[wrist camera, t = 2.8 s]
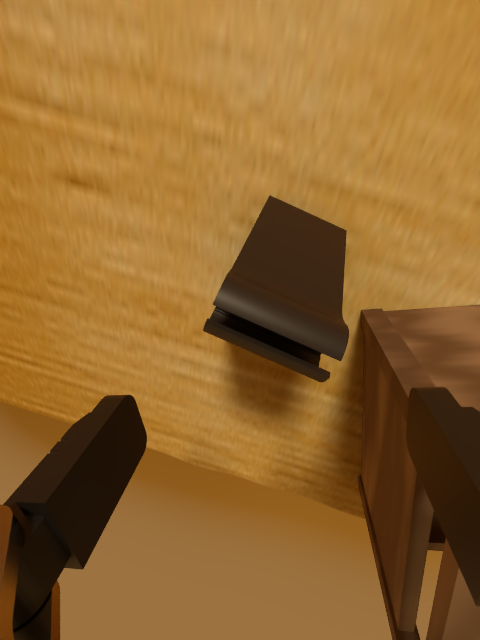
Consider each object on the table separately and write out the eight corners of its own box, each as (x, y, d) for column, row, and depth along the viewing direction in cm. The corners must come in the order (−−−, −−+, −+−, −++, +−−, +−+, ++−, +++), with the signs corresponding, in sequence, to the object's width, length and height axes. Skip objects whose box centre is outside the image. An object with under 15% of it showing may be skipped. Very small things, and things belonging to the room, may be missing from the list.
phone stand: (289, 330, 26) (288, 437, 15) (224, 301, 26) (177, 388, 15) (346, 230, 22) (398, 279, 11) (270, 194, 22) (251, 210, 11)
